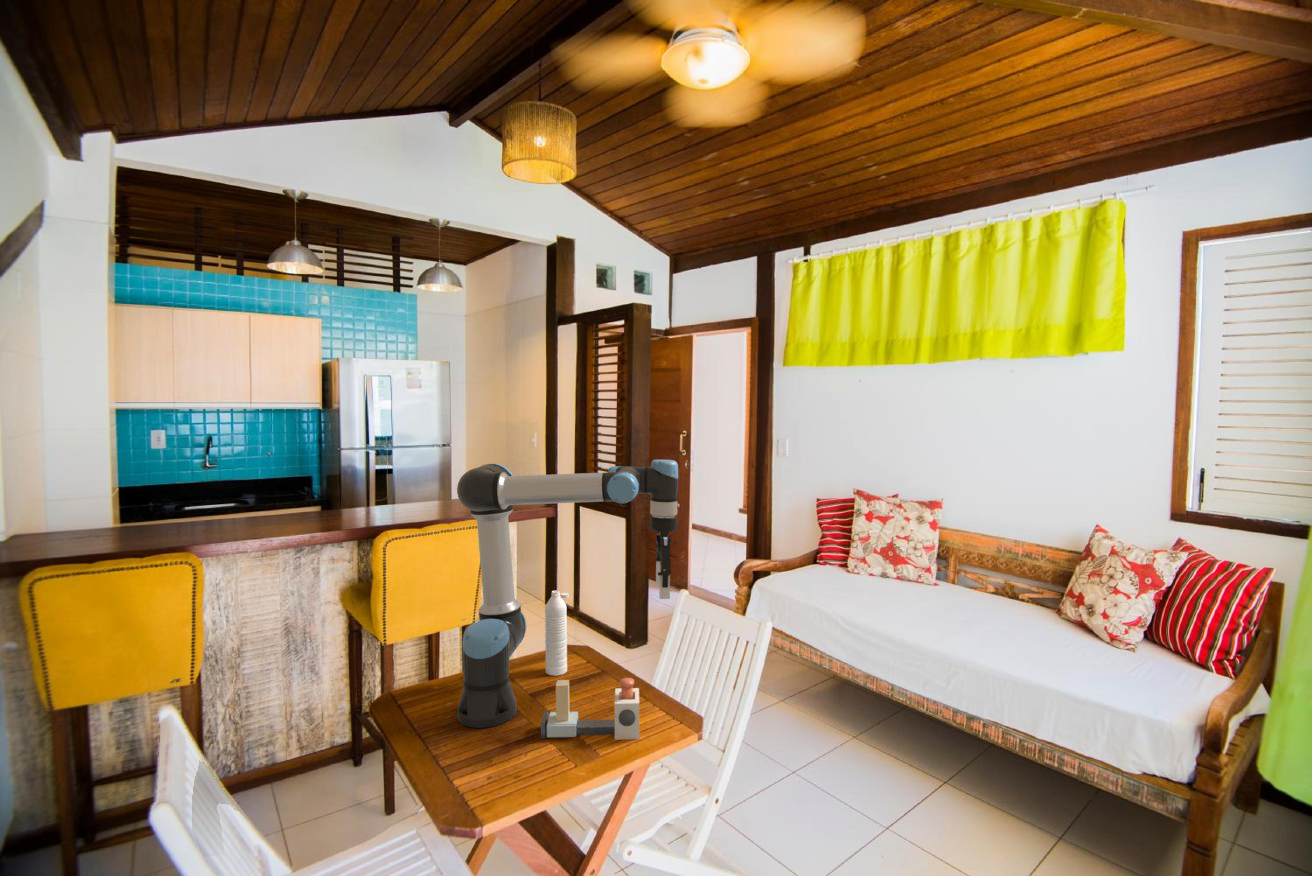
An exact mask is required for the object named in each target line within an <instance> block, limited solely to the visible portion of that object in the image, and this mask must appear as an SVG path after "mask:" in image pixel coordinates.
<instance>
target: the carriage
mask: <svg viewBox="0 0 1312 876" xmlns="http://www.w3.org/2000/svg"><path fill="white" fill-rule="evenodd" d="M577 720H579V711H570V679H558V680H556V684H555V711H550V713H549V714H548V723H547V736H546V738H572V737H573V738H574V737H577V736H576V725H577Z"/></svg>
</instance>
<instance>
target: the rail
mask: <svg viewBox="0 0 1312 876" xmlns="http://www.w3.org/2000/svg"><path fill="white" fill-rule="evenodd" d="M543 711H544V712H543V714H542V718H541V722H540V739H541V740H546V738H547V723H548V719H549V710H543ZM577 736H615V718H614V719H578V720H577V725H576V737H577Z"/></svg>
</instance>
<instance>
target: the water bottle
mask: <svg viewBox="0 0 1312 876" xmlns="http://www.w3.org/2000/svg"><path fill="white" fill-rule="evenodd" d="M560 592H561V591H560V590H552V591H551V594H550V595H551V596H550V598H549V599H548V601H547V603H546V604H545V607H544V614H545V615H544V617H545V622H544V623H545V624H544V625H545V627H544V628H545V634H544V635H545V636H544V637H545V641H544V642H545V674H546V675H549V676H555V677H556V676H561V675H565V673H567V672H568V644H567V643H568V639H567V638H568V637H567V636H568V631H567V629H568V628H567V627H568V626H567V625H568V624H567V623H568V622H567V619H568V618H567V617H568V616H567V603H566V602H565V600H564V599H569V597H570V594H569V592H561V593H560Z"/></svg>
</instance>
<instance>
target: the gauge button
mask: <svg viewBox="0 0 1312 876" xmlns="http://www.w3.org/2000/svg"><path fill="white" fill-rule="evenodd" d="M619 685H620V688H621V700H629V699H633V688H634V685H635V679H634V678H632V677H622V678H621V679H620V680H619Z"/></svg>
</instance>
